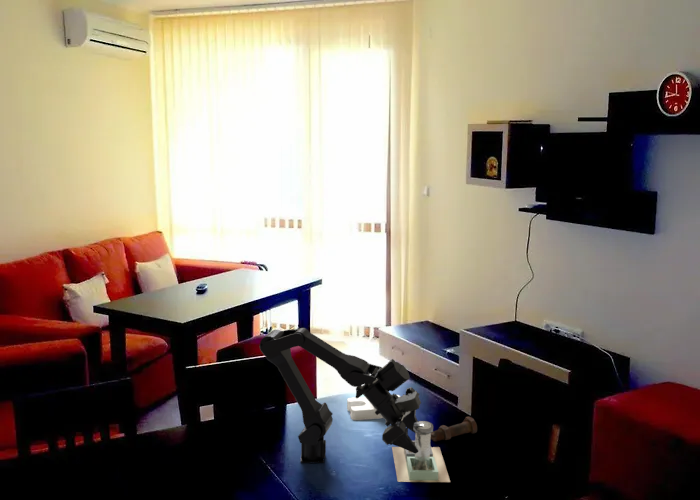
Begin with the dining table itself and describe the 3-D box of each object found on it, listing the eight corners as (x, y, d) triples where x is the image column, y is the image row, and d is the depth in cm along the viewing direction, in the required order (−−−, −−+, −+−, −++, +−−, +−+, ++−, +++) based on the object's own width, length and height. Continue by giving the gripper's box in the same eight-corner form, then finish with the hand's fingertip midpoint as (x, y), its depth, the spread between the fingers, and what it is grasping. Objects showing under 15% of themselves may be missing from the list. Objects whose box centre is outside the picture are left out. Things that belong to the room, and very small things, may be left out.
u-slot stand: (346, 407, 211) (347, 377, 209) (398, 404, 215) (399, 374, 213) (352, 421, 202) (352, 389, 200) (406, 417, 206) (407, 386, 203)
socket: (409, 480, 167) (409, 471, 167) (406, 464, 175) (406, 456, 174) (437, 480, 168) (438, 471, 167) (433, 465, 175) (434, 456, 175)
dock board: (397, 485, 167) (397, 481, 167) (391, 449, 185) (391, 446, 184) (450, 485, 167) (450, 482, 167) (439, 450, 185) (439, 447, 185)
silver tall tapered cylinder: (410, 475, 170) (412, 427, 167) (413, 465, 174) (415, 419, 172) (429, 478, 168) (431, 430, 165) (432, 468, 173) (434, 421, 170)
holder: (406, 461, 176) (406, 453, 176) (403, 448, 184) (403, 440, 183) (432, 462, 177) (432, 454, 176) (428, 448, 184) (429, 440, 183)
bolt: (430, 447, 190) (470, 435, 197) (439, 446, 186) (479, 434, 193) (425, 428, 192) (465, 416, 198) (433, 427, 187) (474, 415, 194)
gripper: (396, 397, 159) (437, 444, 158) (410, 370, 177) (447, 412, 176) (365, 421, 163) (405, 467, 162) (381, 392, 180) (417, 433, 180)
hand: (420, 443), depth 170 cm, fingers open, 9 cm apart
